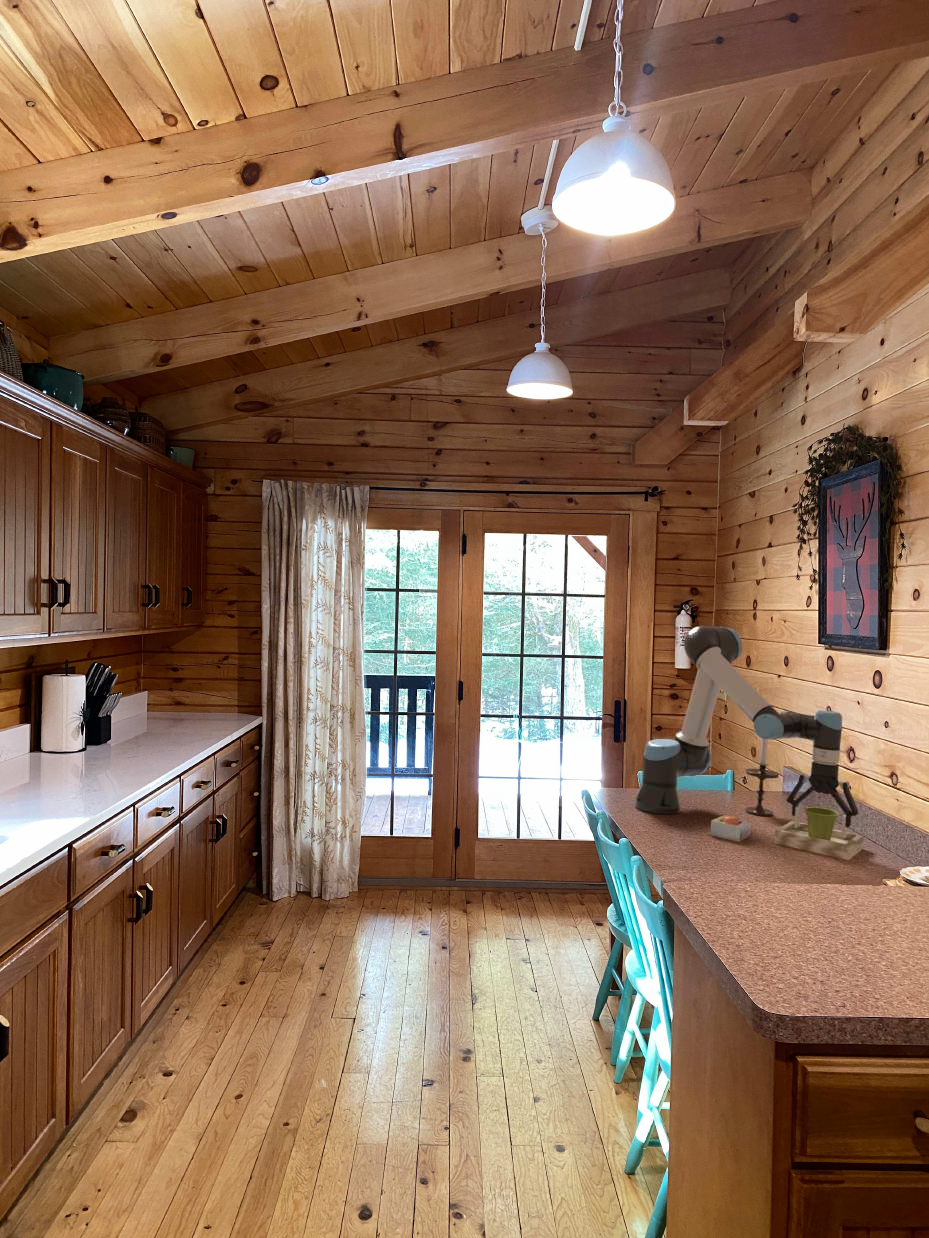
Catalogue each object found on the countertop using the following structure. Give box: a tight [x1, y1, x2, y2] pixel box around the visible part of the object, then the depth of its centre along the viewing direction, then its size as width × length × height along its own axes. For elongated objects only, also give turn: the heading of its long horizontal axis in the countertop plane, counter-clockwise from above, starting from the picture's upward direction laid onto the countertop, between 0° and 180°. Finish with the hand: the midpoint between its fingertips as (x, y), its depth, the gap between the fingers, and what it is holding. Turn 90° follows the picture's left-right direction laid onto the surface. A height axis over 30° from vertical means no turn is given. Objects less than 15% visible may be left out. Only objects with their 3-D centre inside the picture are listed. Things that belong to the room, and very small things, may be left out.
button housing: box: [709, 815, 751, 843], centre depth 259 cm, size 9×9×4 cm
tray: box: [774, 820, 864, 861], centre depth 254 cm, size 21×17×4 cm
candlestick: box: [744, 738, 780, 818], centre depth 292 cm, size 11×11×35 cm
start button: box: [722, 815, 741, 825], centre depth 259 cm, size 5×5×3 cm
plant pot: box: [804, 806, 839, 841], centre depth 254 cm, size 9×9×9 cm
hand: (819, 832), depth 254 cm, fingers open, 13 cm apart
